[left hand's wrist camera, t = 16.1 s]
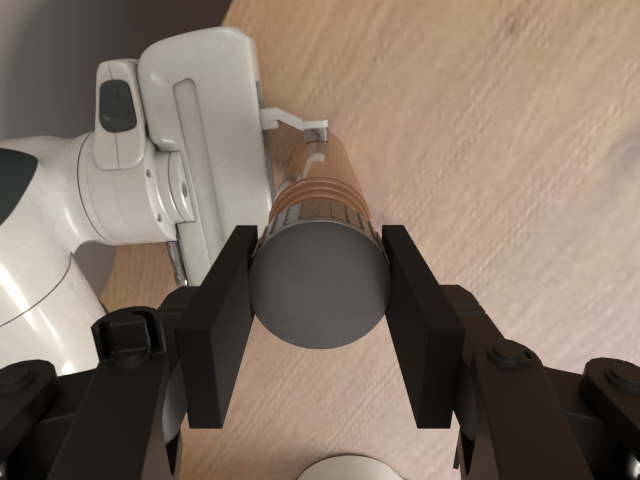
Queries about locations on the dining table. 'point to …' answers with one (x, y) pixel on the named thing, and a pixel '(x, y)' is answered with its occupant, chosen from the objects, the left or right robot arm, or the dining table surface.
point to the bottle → (319, 178)
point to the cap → (319, 275)
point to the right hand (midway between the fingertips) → (331, 169)
